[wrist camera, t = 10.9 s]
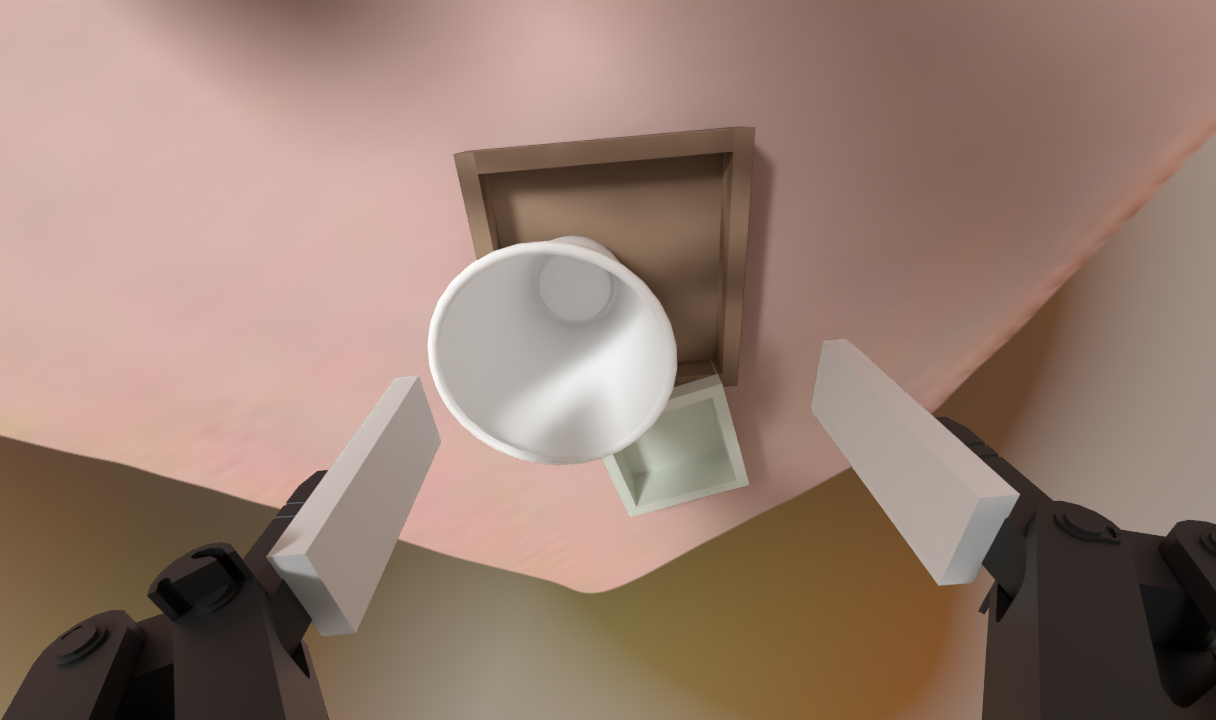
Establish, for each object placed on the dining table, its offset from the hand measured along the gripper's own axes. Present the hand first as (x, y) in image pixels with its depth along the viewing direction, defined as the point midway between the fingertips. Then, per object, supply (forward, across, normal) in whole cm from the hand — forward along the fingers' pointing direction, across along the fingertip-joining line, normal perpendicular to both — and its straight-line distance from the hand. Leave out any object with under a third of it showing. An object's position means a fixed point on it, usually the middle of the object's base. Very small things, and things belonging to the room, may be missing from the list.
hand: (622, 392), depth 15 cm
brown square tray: (+15, 0, -1) cm, 15 cm away
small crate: (+14, +3, -13) cm, 20 cm away
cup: (+14, -2, -1) cm, 14 cm away
